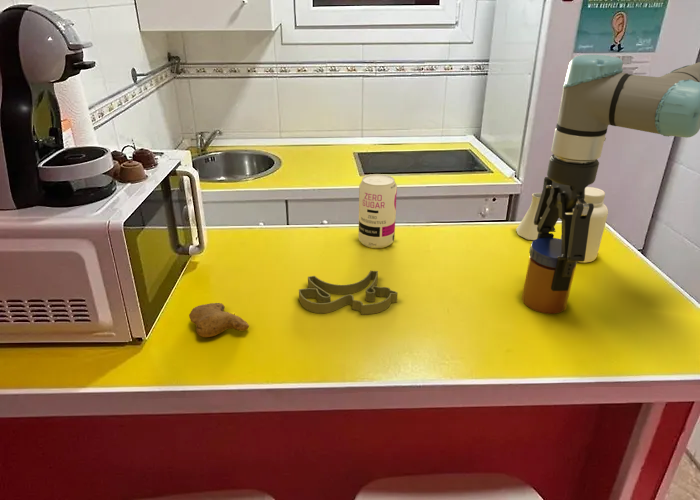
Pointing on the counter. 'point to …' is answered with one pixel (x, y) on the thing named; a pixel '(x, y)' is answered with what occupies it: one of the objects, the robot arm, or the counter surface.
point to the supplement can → (377, 210)
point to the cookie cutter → (325, 305)
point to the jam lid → (546, 251)
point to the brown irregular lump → (215, 320)
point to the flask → (530, 220)
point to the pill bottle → (595, 222)
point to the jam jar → (543, 289)
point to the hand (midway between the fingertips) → (549, 276)
